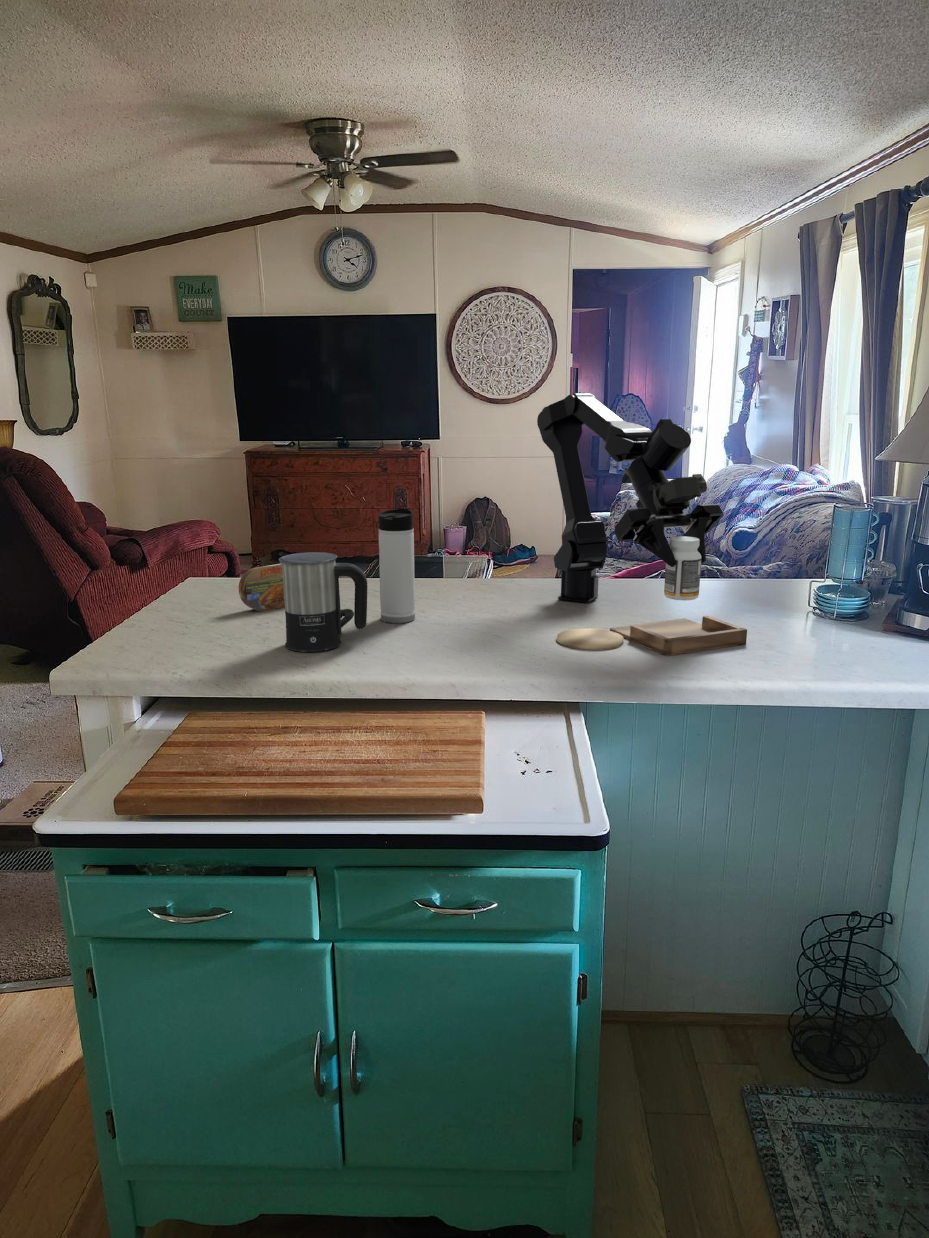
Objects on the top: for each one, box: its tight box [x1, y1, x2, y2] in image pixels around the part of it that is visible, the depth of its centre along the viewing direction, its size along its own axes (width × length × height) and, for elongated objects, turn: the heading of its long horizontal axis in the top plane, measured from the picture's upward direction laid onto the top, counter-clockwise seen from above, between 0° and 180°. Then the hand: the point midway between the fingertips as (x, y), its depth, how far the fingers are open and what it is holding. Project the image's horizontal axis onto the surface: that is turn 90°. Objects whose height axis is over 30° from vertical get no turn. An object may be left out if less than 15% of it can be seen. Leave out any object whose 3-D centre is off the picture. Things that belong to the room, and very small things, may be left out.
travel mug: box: [377, 507, 416, 624], centre depth 158 cm, size 6×7×20 cm
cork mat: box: [556, 627, 624, 651], centre depth 146 cm, size 11×11×1 cm
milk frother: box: [278, 551, 368, 653], centre depth 146 cm, size 14×16×15 cm
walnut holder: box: [609, 615, 748, 657], centre depth 148 cm, size 16×16×2 cm
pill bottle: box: [663, 535, 702, 601], centre depth 145 cm, size 6×6×10 cm
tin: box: [238, 563, 285, 612], centre depth 169 cm, size 15×3×8 cm, turn 129°
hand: (689, 564), depth 143 cm, fingers closed on pill bottle, 6 cm apart
